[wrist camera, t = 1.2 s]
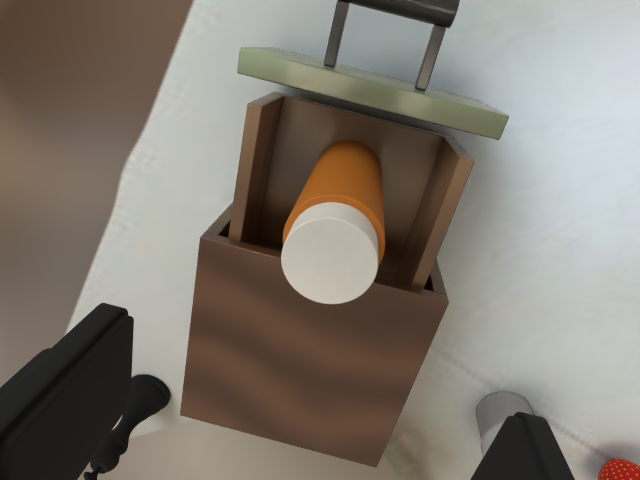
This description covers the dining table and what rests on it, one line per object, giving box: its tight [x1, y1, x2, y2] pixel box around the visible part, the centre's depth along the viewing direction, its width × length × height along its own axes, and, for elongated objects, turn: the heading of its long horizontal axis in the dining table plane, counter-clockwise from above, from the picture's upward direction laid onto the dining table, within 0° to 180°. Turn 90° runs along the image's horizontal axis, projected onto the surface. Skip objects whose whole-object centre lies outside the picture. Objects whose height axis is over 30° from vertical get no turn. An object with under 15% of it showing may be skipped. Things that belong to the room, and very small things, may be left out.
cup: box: [476, 392, 535, 457], centre depth 32 cm, size 7×7×12 cm
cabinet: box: [180, 202, 449, 467], centre depth 31 cm, size 15×15×9 cm
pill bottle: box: [281, 140, 385, 304], centre depth 22 cm, size 4×4×13 cm
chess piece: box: [84, 375, 170, 480], centre depth 37 cm, size 4×4×10 cm
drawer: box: [228, 0, 509, 289], centre depth 25 cm, size 18×13×7 cm
